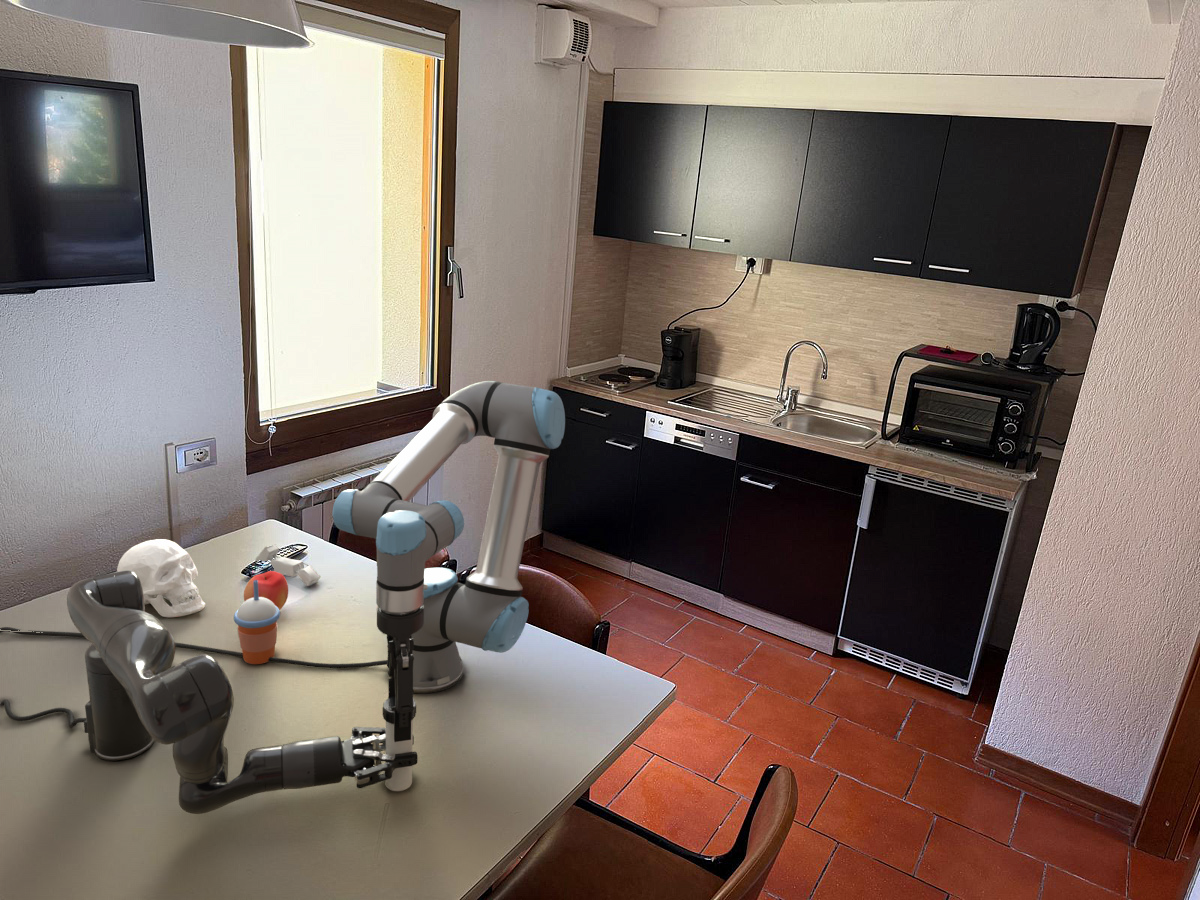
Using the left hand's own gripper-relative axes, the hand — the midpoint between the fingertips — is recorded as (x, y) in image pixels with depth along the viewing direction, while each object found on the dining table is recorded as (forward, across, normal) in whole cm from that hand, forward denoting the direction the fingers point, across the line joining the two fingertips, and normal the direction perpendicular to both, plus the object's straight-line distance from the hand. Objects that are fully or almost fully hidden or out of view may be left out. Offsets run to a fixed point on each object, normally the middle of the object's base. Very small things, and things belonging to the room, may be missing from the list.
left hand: (414, 748), depth 148 cm
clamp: (-21, +86, +7) cm, 89 cm away
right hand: (-3, 0, -5) cm, 6 cm away
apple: (-26, +66, +7) cm, 71 cm away
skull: (-48, +75, +7) cm, 89 cm away
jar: (-3, 0, +7) cm, 7 cm away
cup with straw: (-27, +47, +7) cm, 54 cm away
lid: (-3, 0, -9) cm, 9 cm away
